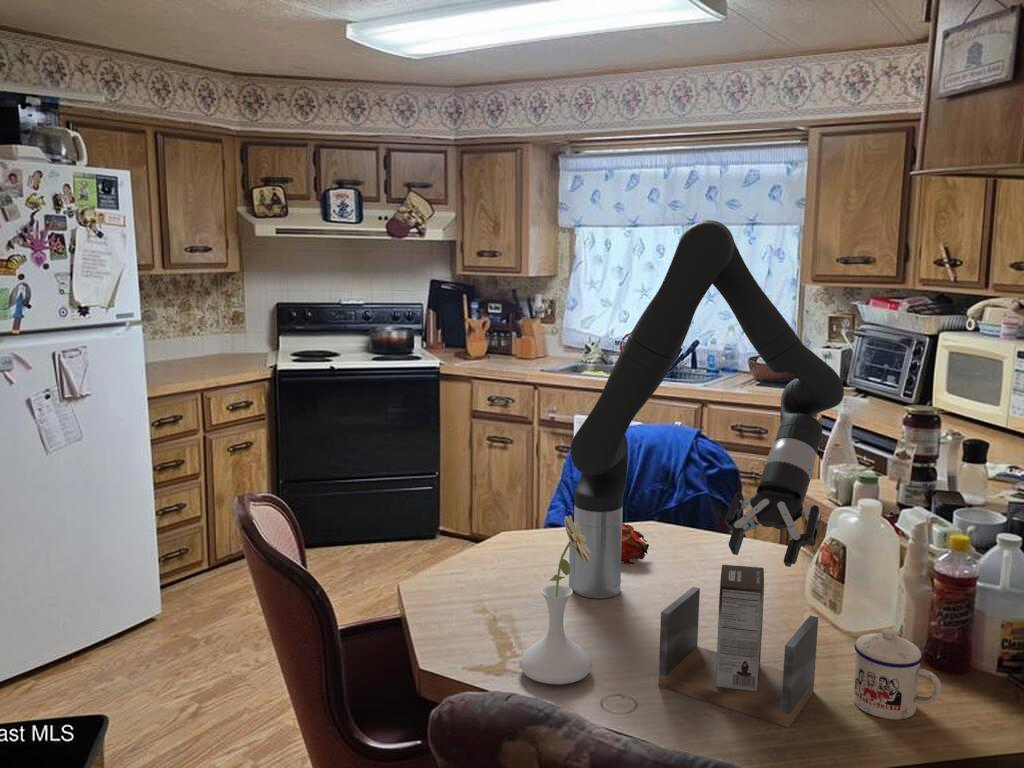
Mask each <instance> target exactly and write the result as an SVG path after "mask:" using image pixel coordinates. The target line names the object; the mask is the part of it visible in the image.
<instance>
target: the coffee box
mask: <svg viewBox="0 0 1024 768" xmlns="http://www.w3.org/2000/svg"><path fill="white" fill-rule="evenodd" d="M719 582H720V583H719V597H718V598H719V600H718V620H717V640H716V641H717V643H716V652H717V666H716V686H717V687H724V688H732V689H740V690H748V691H756V692H757V691H758V686H759V671H760V664H761V653H762V635H763V622H764V618H763V617H764V599H765V597H764V596H765V570H764V567H758V566H744V565H734V564H733V565H732V564H722V565H721V572H720V581H719Z"/></svg>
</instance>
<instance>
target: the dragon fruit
mask: <svg viewBox="0 0 1024 768" xmlns="http://www.w3.org/2000/svg"><path fill="white" fill-rule="evenodd" d="M644 537H645V536H644V535H643V534H642V533H641V532H639V531H637V530H635V528H634V527H633V526H632V525H630V524H627V523H624V522H622V548H621V563H623V564H624V565H636V563H634V562H633V561H631V560H642V561H643V560H644V558H645V557H646V554H648V550H649V547H650V544H649V543H648V541H647V540H646V539H645V538H644Z"/></svg>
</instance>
